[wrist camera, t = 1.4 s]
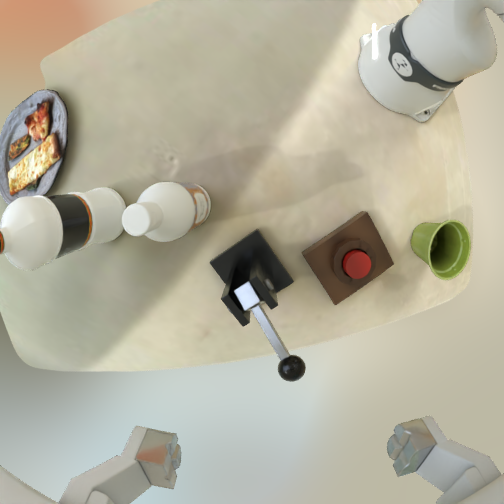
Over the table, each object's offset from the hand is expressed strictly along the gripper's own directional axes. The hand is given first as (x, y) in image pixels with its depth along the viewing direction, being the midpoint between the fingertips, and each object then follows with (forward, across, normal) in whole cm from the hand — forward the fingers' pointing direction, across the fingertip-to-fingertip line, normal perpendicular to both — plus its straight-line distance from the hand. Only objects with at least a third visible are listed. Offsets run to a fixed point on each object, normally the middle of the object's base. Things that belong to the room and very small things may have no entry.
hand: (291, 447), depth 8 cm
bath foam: (+36, +12, -6) cm, 39 cm away
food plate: (+36, +47, -20) cm, 63 cm away
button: (+32, -14, +1) cm, 35 cm away
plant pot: (+36, -28, -2) cm, 46 cm away
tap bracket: (+36, +2, +4) cm, 36 cm away
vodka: (+36, +27, -5) cm, 45 cm away
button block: (+36, -14, +1) cm, 39 cm away
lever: (+24, -1, +8) cm, 25 cm away
